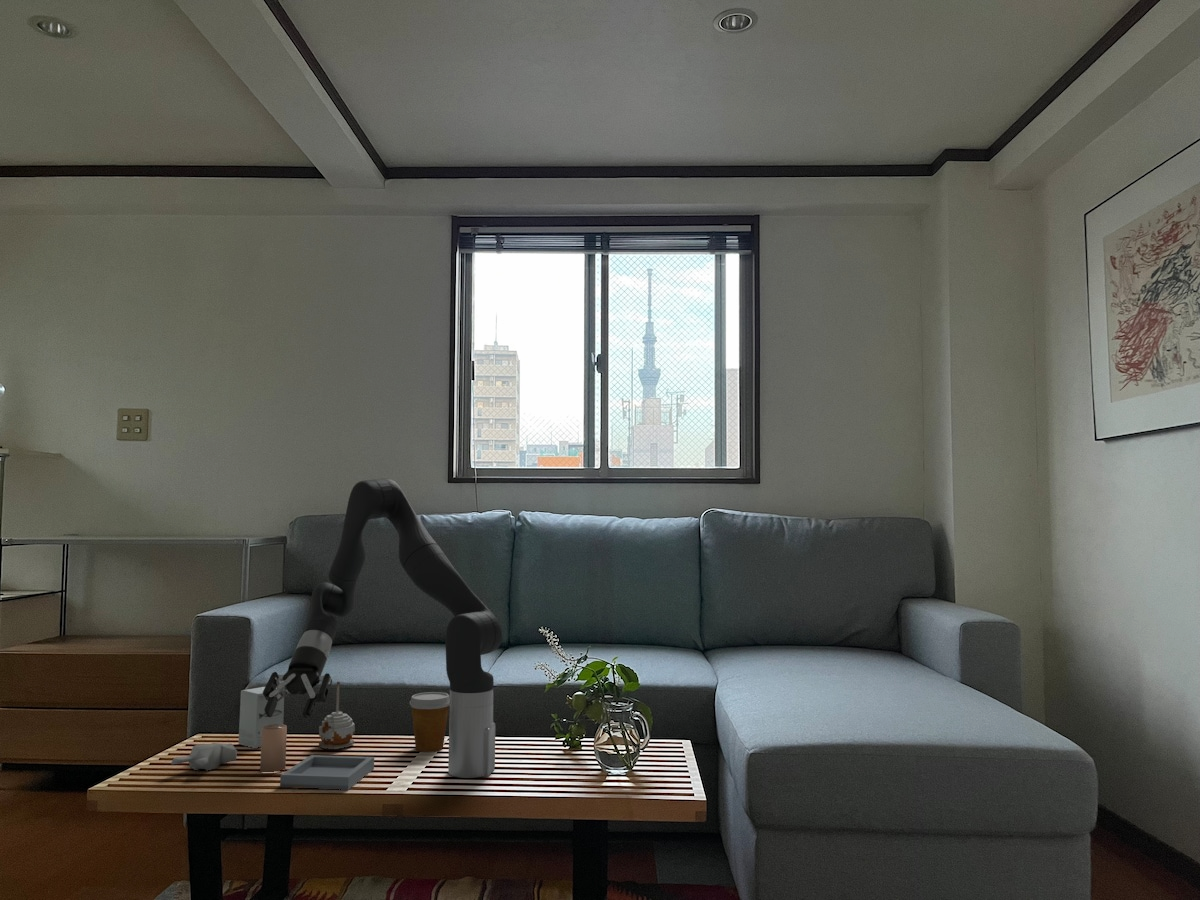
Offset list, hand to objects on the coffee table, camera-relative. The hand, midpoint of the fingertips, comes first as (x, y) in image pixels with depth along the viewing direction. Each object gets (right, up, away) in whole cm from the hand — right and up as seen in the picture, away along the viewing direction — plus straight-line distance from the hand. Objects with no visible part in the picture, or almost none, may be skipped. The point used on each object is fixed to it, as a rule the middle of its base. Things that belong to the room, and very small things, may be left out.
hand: (286, 715), depth 184 cm
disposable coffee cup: (+29, -11, +11) cm, 33 cm away
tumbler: (-1, -9, -6) cm, 12 cm away
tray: (+13, -9, -12) cm, 20 cm away
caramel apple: (+7, -11, +12) cm, 18 cm away
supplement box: (-12, -11, +15) cm, 22 cm away
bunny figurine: (-15, -10, -5) cm, 19 cm away
